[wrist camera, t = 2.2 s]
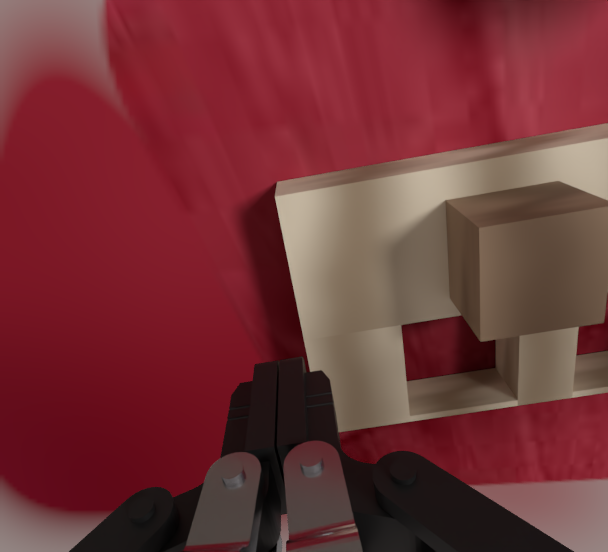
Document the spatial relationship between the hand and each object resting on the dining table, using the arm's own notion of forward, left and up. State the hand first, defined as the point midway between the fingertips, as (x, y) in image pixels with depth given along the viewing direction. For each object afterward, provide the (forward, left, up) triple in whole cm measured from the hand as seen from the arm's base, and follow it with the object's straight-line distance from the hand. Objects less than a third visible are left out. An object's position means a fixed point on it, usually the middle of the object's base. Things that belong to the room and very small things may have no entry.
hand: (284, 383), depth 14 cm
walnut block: (-10, 0, -8) cm, 13 cm away
